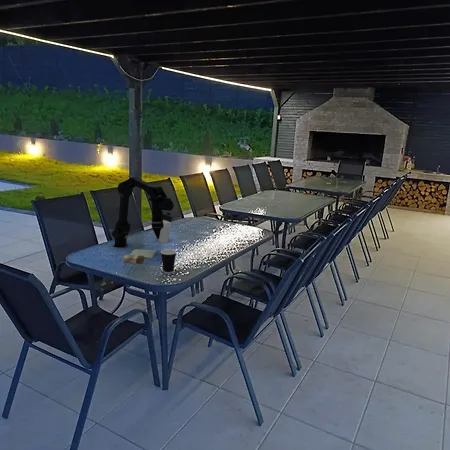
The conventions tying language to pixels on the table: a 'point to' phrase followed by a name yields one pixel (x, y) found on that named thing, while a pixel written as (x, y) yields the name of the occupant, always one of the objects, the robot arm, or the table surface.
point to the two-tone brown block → (133, 259)
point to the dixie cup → (168, 260)
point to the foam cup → (165, 232)
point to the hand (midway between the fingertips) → (158, 236)
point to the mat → (144, 253)
